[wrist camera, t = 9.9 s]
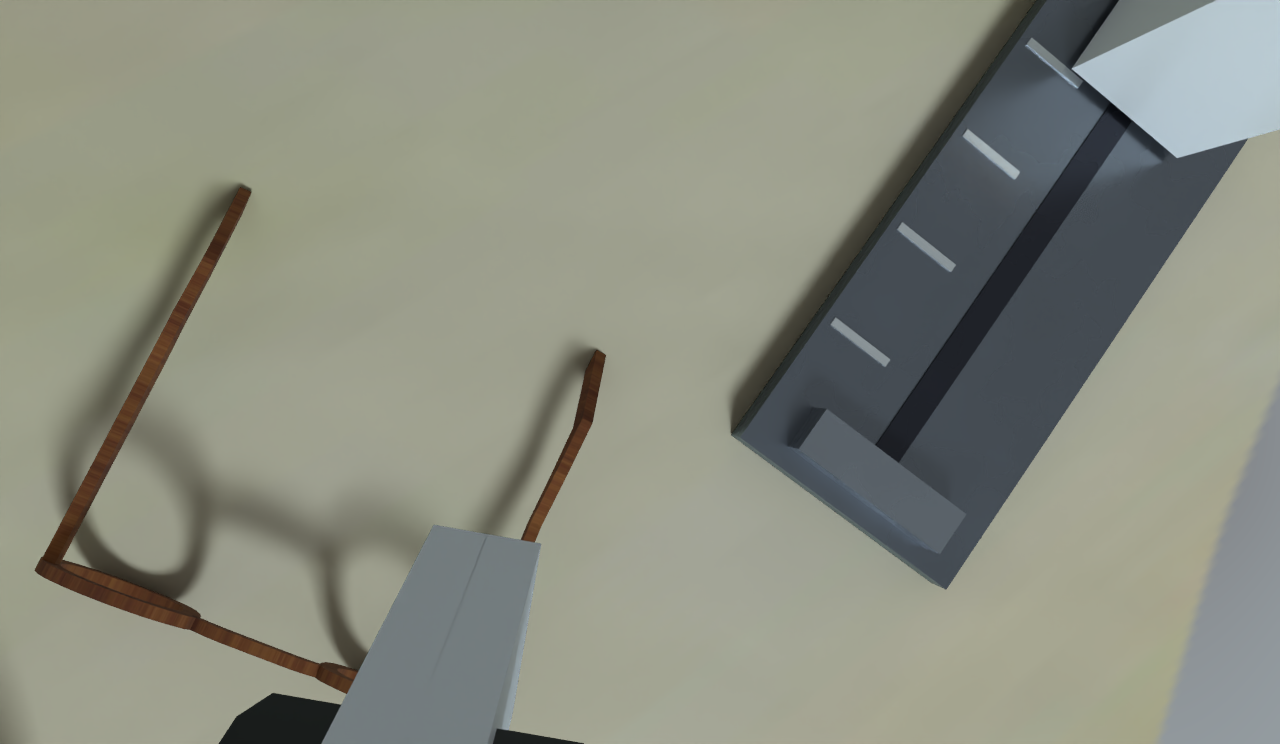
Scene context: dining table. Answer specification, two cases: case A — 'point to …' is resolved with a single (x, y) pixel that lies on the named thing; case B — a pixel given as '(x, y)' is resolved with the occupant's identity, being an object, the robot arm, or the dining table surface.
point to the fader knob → (1190, 69)
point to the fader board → (980, 301)
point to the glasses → (84, 577)
